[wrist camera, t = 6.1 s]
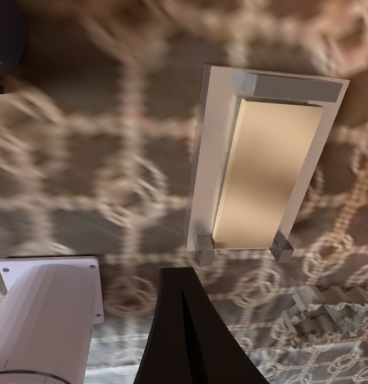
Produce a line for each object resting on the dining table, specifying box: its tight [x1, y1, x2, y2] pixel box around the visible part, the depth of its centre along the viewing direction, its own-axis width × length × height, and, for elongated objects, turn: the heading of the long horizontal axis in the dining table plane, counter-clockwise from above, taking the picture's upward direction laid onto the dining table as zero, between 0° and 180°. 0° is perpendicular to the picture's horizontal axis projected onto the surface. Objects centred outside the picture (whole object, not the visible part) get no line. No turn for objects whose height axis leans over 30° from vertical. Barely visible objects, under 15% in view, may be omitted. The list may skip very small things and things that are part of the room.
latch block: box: [183, 64, 350, 266], centre depth 18 cm, size 14×9×4 cm, turn 175°
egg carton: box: [282, 285, 368, 349], centre depth 30 cm, size 11×8×4 cm
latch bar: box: [211, 98, 325, 249], centre depth 18 cm, size 12×5×1 cm, turn 175°
